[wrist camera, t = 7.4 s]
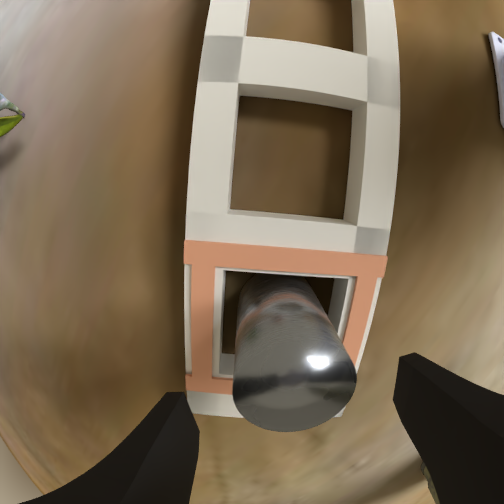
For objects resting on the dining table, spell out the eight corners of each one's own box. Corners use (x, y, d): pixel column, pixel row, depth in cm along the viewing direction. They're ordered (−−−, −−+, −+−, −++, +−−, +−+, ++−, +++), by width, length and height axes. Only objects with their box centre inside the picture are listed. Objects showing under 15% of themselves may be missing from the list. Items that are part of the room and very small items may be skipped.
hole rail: (373, -31, 10) (384, -48, 8) (333, 396, 17) (342, 418, 15) (229, -53, 10) (227, -74, 8) (193, 391, 17) (187, 414, 15)
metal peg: (311, 262, 15) (358, 328, 8) (316, 331, 16) (353, 419, 9) (232, 273, 15) (220, 350, 8) (244, 341, 16) (243, 437, 9)
